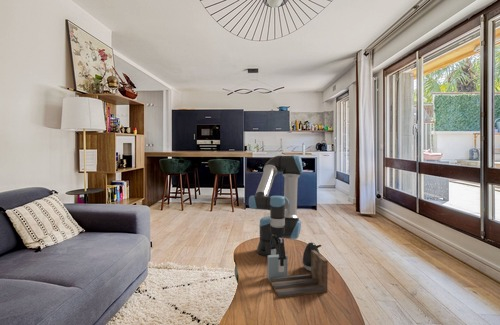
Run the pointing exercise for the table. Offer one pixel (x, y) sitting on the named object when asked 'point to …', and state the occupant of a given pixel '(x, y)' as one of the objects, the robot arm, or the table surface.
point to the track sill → (304, 279)
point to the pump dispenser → (309, 255)
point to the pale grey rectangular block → (275, 267)
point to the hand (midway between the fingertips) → (277, 266)
